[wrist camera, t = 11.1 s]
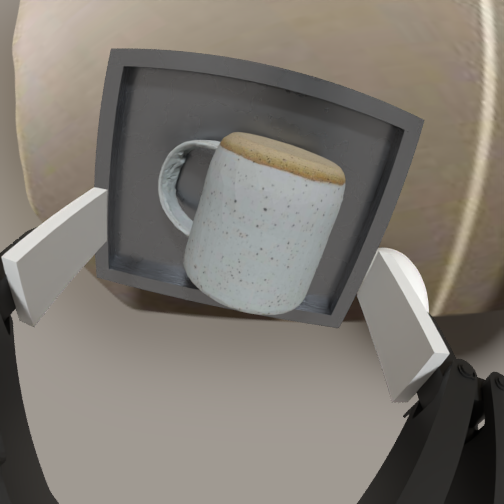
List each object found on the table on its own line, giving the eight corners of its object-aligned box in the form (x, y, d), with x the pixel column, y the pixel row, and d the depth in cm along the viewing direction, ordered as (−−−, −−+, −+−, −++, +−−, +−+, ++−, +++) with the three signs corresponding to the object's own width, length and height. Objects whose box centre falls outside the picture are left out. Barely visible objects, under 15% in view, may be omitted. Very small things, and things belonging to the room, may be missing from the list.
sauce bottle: (343, 239, 37) (391, 343, 21) (399, 228, 36) (470, 319, 20) (347, 289, 40) (383, 395, 25) (398, 277, 39) (451, 373, 23)
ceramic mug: (337, 155, 18) (377, 188, 11) (298, 260, 22) (309, 333, 15) (178, 112, 17) (126, 122, 11) (158, 224, 21) (113, 283, 14)
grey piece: (359, 108, 29) (427, 121, 16) (316, 244, 37) (341, 328, 24) (172, 66, 27) (107, 48, 14) (150, 208, 35) (93, 276, 22)
